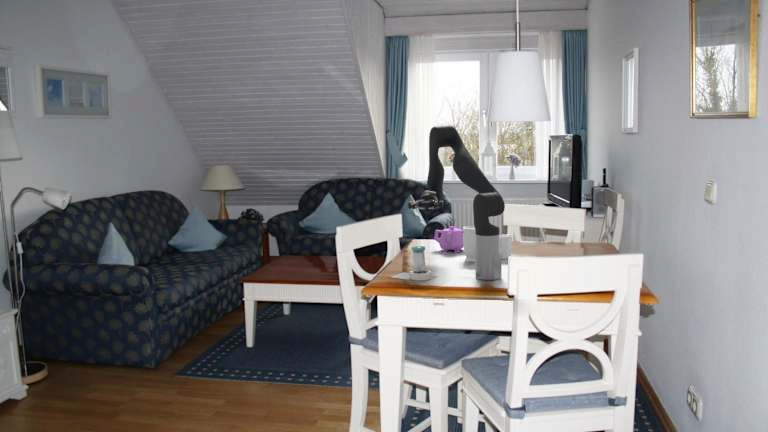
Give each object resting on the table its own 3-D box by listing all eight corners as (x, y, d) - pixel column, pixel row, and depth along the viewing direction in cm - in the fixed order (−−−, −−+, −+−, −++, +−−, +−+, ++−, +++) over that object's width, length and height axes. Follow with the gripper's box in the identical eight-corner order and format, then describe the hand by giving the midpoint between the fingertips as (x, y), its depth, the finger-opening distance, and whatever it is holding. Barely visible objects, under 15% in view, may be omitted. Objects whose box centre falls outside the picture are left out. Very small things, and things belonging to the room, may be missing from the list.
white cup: (512, 259, 305) (512, 237, 304) (494, 259, 307) (494, 237, 305) (512, 256, 313) (512, 234, 311) (494, 256, 314) (494, 234, 313)
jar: (458, 260, 305) (457, 227, 303) (472, 257, 312) (472, 224, 310) (477, 264, 297) (477, 229, 295) (491, 260, 304) (491, 226, 302)
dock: (438, 279, 269) (438, 270, 268) (424, 284, 261) (424, 275, 260) (403, 275, 278) (403, 266, 277) (389, 280, 270) (389, 270, 269)
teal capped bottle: (429, 277, 267) (427, 246, 266) (422, 279, 263) (420, 248, 261) (417, 276, 270) (415, 245, 269) (410, 278, 266) (409, 248, 264)
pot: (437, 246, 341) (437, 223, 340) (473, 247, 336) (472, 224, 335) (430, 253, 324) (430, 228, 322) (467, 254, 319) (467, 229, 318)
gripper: (411, 194, 294) (406, 197, 278) (444, 193, 292) (441, 196, 276) (412, 211, 295) (406, 215, 279) (445, 211, 293) (442, 215, 277)
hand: (424, 206), depth 278 cm, fingers open, 8 cm apart
